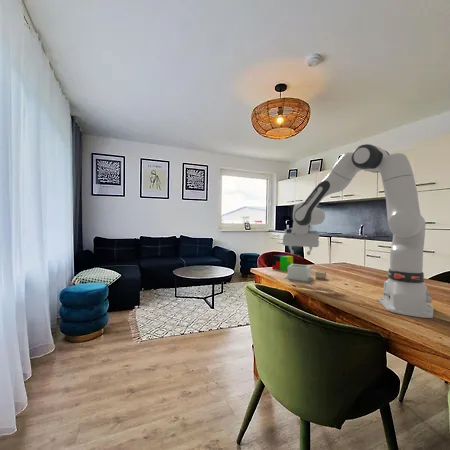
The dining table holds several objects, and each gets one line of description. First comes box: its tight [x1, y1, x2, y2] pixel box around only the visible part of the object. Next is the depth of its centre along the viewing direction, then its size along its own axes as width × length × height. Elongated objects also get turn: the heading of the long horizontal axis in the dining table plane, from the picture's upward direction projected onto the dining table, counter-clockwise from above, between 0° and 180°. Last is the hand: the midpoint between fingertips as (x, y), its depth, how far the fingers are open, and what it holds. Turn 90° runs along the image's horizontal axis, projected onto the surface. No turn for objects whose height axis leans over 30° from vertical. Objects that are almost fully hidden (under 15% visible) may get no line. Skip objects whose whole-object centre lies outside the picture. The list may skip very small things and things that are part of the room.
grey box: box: [286, 263, 312, 282], centre depth 146 cm, size 11×11×7 cm
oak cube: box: [314, 270, 327, 281], centre depth 146 cm, size 5×5×5 cm
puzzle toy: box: [271, 254, 294, 272], centre depth 175 cm, size 10×10×10 cm
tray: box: [283, 276, 315, 283], centre depth 146 cm, size 14×14×1 cm
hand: (300, 254), depth 146 cm, fingers open, 8 cm apart
